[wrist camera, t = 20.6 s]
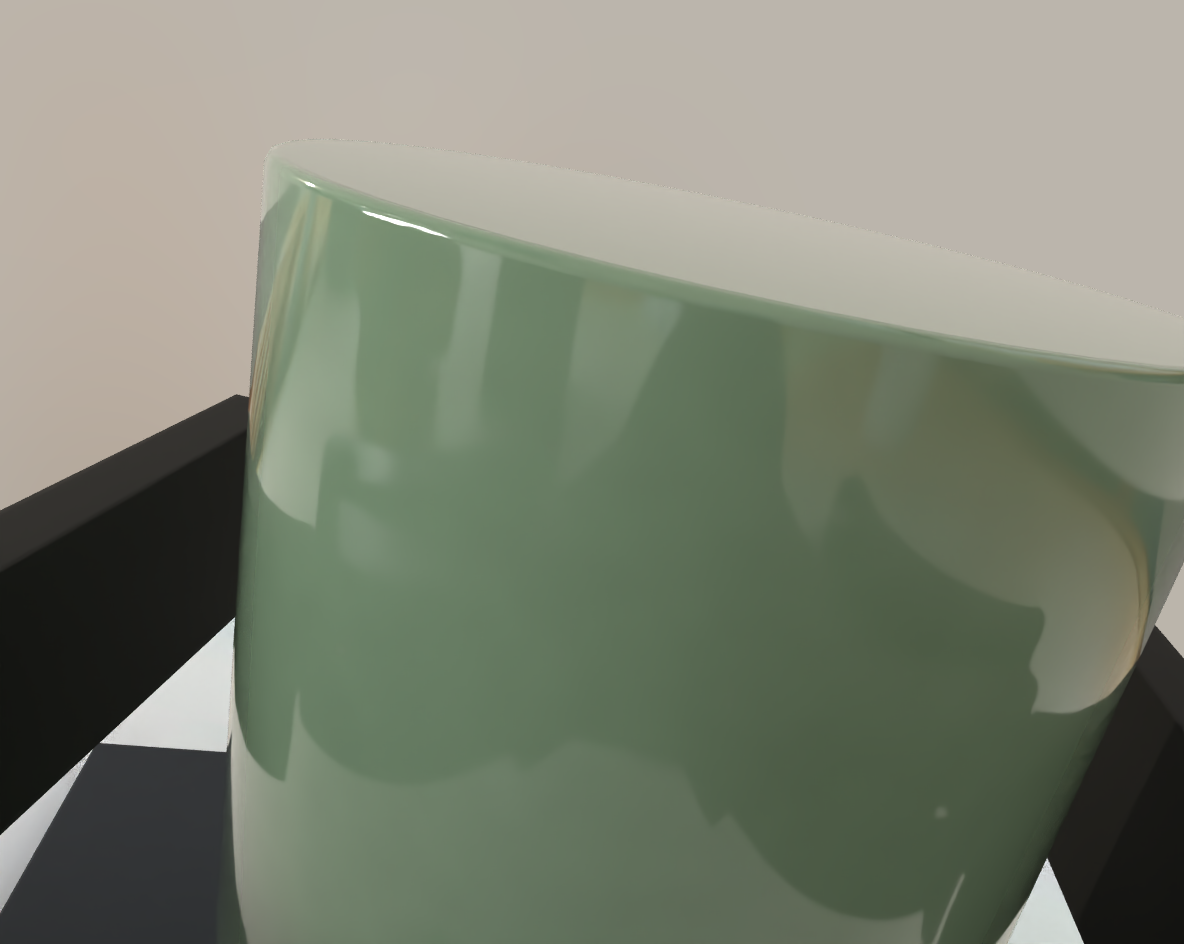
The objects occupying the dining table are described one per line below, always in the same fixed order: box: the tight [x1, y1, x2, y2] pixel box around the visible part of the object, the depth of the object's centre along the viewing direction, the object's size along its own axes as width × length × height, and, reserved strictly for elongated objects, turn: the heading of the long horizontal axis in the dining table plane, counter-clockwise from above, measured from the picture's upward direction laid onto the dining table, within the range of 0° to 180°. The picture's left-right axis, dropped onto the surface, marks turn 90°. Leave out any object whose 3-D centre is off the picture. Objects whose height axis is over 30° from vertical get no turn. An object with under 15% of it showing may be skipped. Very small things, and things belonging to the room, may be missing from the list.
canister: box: [214, 139, 1184, 944], centre depth 9 cm, size 7×7×11 cm
